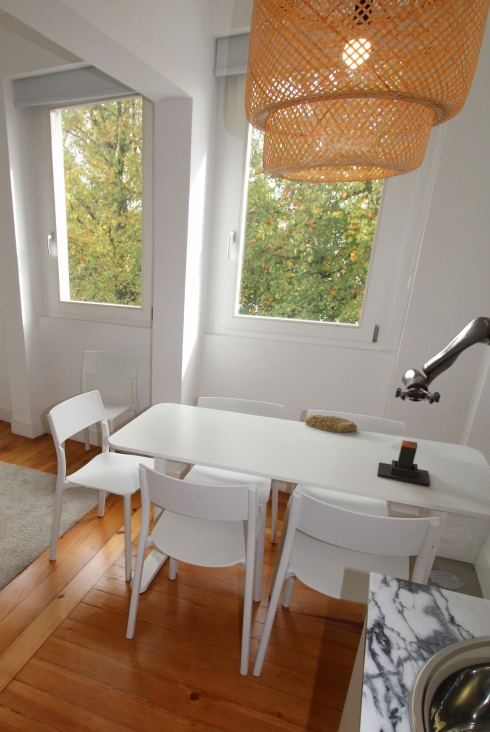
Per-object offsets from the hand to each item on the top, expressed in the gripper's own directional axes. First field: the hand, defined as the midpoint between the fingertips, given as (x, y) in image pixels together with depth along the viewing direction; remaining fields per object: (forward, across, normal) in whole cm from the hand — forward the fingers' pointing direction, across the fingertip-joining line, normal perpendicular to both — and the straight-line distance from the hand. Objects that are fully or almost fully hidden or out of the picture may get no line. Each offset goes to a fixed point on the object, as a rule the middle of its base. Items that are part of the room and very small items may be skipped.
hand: (417, 399), depth 166 cm
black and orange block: (+11, 0, +24) cm, 26 cm away
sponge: (-26, -29, +25) cm, 46 cm away
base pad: (+11, 0, +25) cm, 27 cm away
